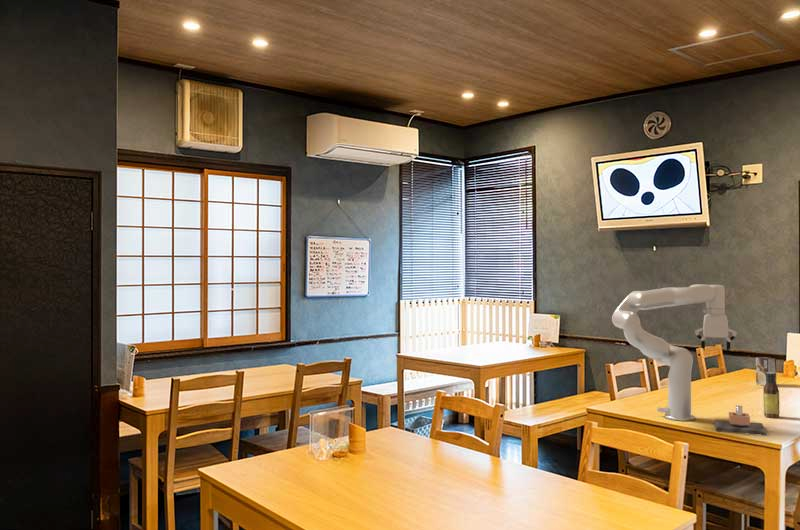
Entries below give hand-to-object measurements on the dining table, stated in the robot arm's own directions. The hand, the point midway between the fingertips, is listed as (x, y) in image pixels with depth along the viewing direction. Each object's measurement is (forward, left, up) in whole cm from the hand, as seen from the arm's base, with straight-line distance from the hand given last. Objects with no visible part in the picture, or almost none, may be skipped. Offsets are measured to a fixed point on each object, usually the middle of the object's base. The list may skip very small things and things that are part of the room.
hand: (715, 350), depth 295 cm
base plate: (+8, -20, -30) cm, 37 cm away
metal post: (+8, -20, -29) cm, 36 cm away
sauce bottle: (+23, +12, -31) cm, 40 cm away
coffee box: (+30, +107, -31) cm, 115 cm away
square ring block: (+8, -20, -28) cm, 35 cm away
